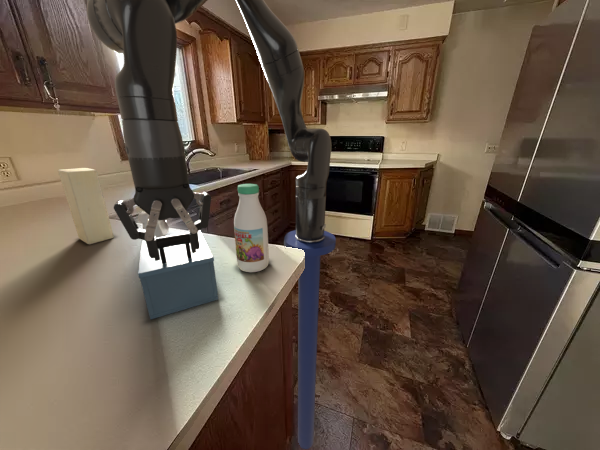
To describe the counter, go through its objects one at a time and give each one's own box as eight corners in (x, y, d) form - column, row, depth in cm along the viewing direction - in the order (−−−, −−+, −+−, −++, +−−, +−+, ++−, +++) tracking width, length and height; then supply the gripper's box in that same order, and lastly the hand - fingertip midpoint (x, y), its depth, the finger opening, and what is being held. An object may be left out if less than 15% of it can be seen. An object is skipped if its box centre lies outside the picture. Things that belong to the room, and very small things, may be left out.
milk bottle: (248, 255, 65) (242, 181, 58) (274, 260, 63) (271, 183, 56) (231, 269, 58) (222, 187, 52) (259, 275, 56) (254, 189, 49)
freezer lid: (214, 261, 44) (210, 233, 42) (138, 278, 39) (131, 247, 37) (200, 233, 57) (197, 211, 55) (142, 243, 51) (136, 218, 50)
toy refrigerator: (117, 236, 77) (99, 169, 70) (88, 244, 71) (65, 172, 64) (106, 231, 81) (88, 167, 74) (78, 238, 75) (56, 169, 68)
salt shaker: (159, 253, 66) (150, 207, 62) (175, 257, 64) (166, 209, 60) (139, 263, 61) (127, 213, 57) (156, 267, 59) (144, 216, 55)
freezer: (218, 299, 48) (213, 259, 45) (150, 319, 42) (139, 276, 39) (205, 266, 60) (200, 233, 57) (151, 279, 54) (142, 243, 51)
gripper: (203, 151, 43) (214, 239, 49) (102, 153, 36) (128, 255, 42) (211, 153, 37) (223, 254, 43) (91, 157, 30) (124, 275, 36)
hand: (176, 254), depth 42 cm, fingers closed on freezer lid, 5 cm apart
